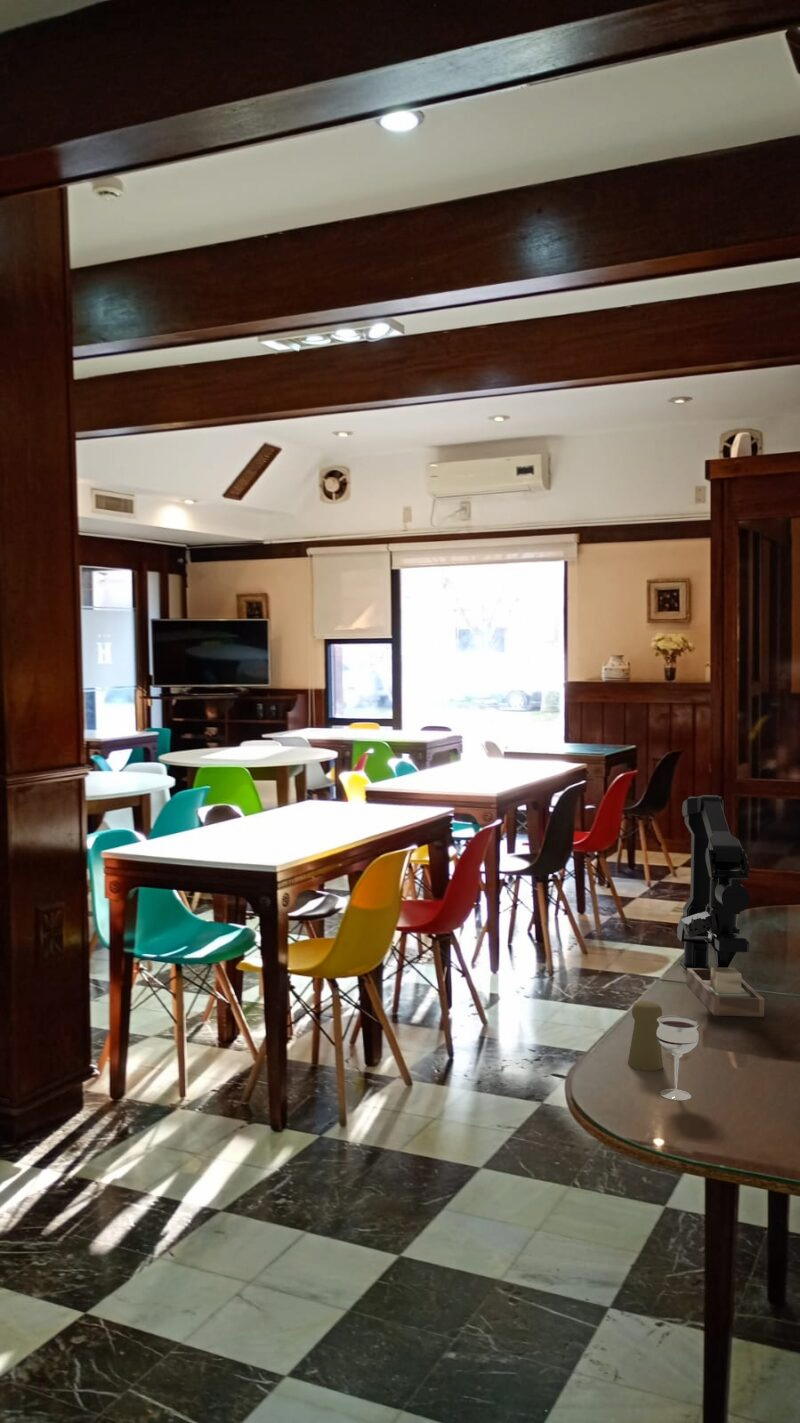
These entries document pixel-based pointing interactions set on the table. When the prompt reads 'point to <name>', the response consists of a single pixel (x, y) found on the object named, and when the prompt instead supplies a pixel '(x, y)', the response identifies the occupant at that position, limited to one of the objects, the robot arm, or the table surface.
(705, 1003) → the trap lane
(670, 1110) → the table surface
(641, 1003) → the cork
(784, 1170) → the table surface
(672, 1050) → the wineglass
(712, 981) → the block
